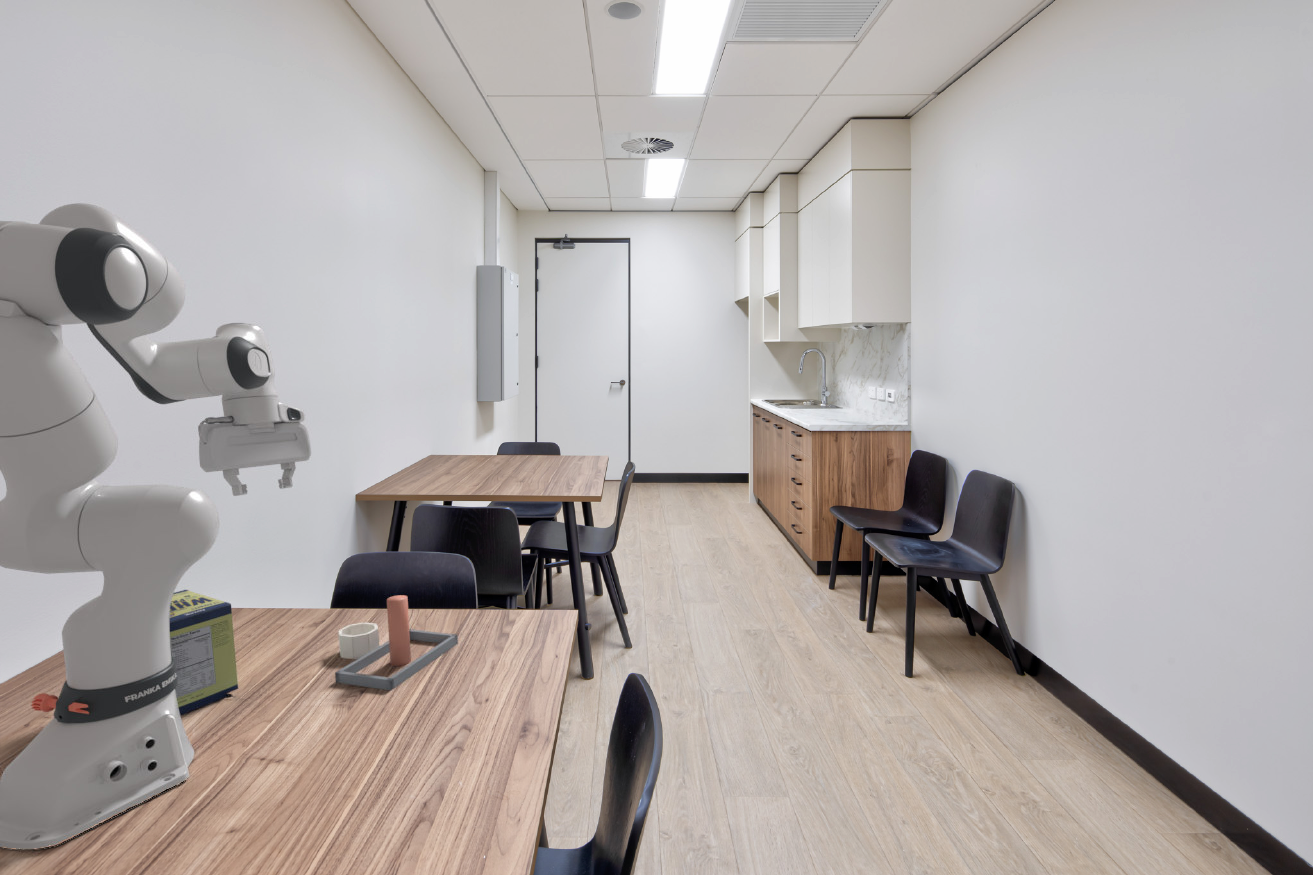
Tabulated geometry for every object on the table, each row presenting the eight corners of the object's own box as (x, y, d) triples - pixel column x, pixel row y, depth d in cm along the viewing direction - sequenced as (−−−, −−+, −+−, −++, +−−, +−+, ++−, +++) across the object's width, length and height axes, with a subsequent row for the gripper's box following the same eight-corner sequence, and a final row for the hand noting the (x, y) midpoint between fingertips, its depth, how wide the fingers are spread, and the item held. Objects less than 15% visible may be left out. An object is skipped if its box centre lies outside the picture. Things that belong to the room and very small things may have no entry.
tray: (391, 694, 115) (390, 680, 114) (335, 686, 118) (335, 672, 118) (458, 647, 134) (457, 634, 133) (409, 641, 137) (408, 629, 137)
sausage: (402, 667, 124) (399, 602, 122) (386, 665, 125) (382, 600, 123) (415, 659, 127) (411, 596, 126) (398, 657, 128) (395, 594, 127)
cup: (362, 664, 126) (361, 638, 126) (332, 660, 128) (330, 634, 128) (386, 649, 133) (385, 624, 132) (357, 646, 135) (355, 621, 134)
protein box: (192, 672, 124) (185, 588, 122) (240, 692, 116) (233, 602, 114) (124, 696, 115) (115, 606, 114) (171, 720, 107) (162, 623, 106)
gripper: (210, 415, 114) (222, 498, 114) (311, 411, 133) (321, 482, 133) (184, 420, 116) (196, 501, 116) (286, 416, 135) (297, 486, 136)
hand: (264, 491), depth 125 cm, fingers open, 8 cm apart
